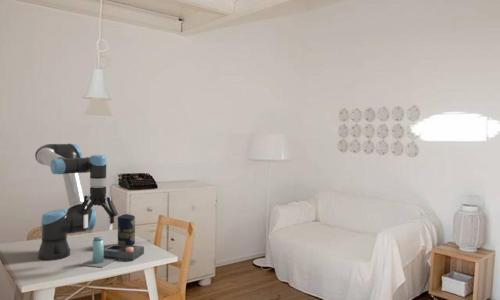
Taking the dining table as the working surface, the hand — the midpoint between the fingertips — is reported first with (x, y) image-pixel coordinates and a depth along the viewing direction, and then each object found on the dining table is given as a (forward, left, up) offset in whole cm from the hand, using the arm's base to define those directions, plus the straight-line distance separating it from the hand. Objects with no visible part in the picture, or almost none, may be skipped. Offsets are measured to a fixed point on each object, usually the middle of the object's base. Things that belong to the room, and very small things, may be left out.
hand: (98, 228), depth 200 cm
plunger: (+11, +11, -16) cm, 22 cm away
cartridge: (0, 0, -17) cm, 17 cm away
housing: (+6, +13, -17) cm, 22 cm away
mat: (0, 0, -17) cm, 17 cm away
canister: (-2, +31, -17) cm, 35 cm away
